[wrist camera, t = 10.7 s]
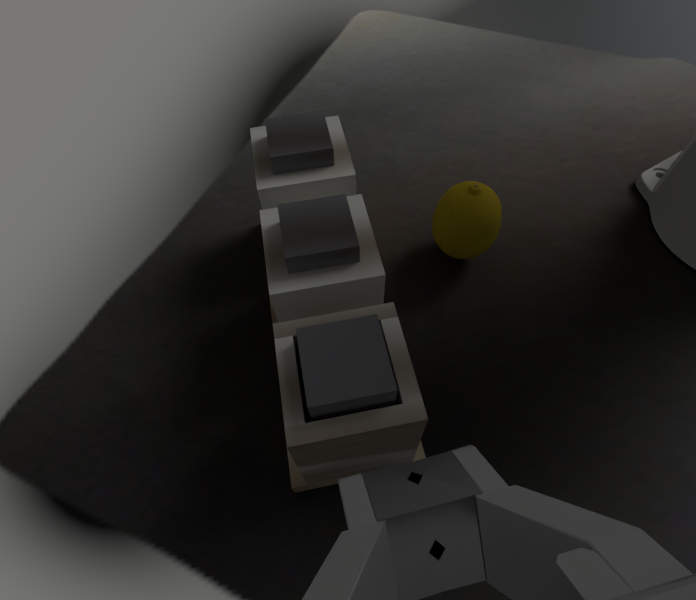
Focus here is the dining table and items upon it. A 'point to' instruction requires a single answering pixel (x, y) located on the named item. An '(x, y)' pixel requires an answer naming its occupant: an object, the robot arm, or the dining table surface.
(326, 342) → the plain button
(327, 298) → the button panel
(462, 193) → the lemon
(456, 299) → the dining table surface
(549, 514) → the robot arm
